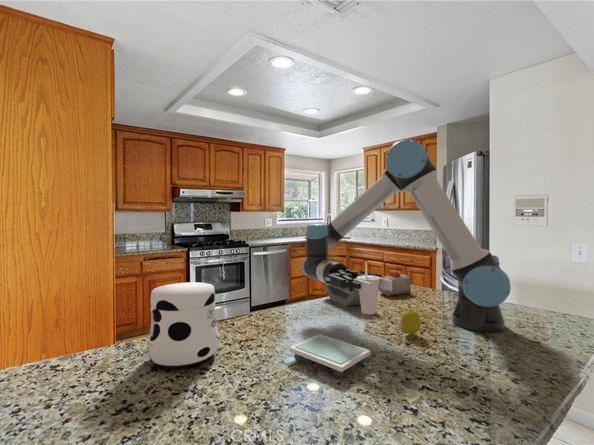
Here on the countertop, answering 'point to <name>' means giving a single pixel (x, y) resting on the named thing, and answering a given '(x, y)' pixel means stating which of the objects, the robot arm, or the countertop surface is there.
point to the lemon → (411, 321)
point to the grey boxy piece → (397, 284)
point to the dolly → (330, 353)
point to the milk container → (182, 324)
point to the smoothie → (367, 299)
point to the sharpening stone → (343, 295)
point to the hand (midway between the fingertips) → (380, 286)
